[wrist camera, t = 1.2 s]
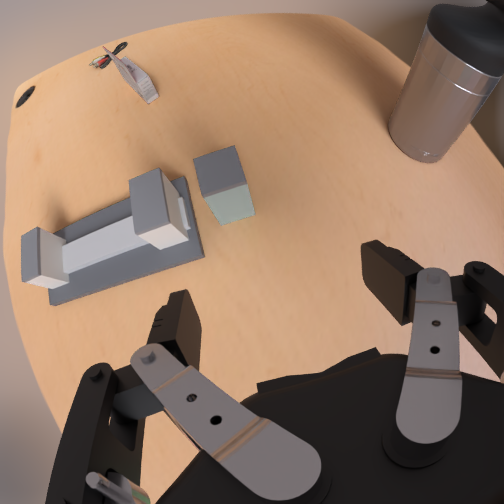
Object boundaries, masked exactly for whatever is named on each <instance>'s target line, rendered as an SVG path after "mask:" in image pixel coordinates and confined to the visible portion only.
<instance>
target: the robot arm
mask: <svg viewBox="0 0 504 504" xmlns="http://www.w3.org/2000/svg"><path fill="white" fill-rule="evenodd" d="M486 1H488V2H487V3H486V4H485V5H483V6H480V7H463V6H456V5H450V4H438V5H436V6H434V7H433V8H432V10H431V12H430V14H429V17H428V21H427V24H426V28H425V30H424V34H423V36H422V39H421V42H420V45H419V48H418V50H417V53H416V56H415V58H414V61H413V64H412V66H411V69H410V71H409V74H408V76H407V79H406V81H405V84H404V86H403V89H402V91H401V94H400V96H399V98H398V101H397V103H396V105H395V107H394V110H393V112H392V114H391V117H390V119H389V123H388V128H389V132H390V135H391V137H392V139H393V141H394V142H395V143H396V145H397V146H398V147H399V148H400V149H401V150H402V151H403V152H404V153H406V154H407V155H408V156H410V157H411V158H413V159H415V160H418V161H420V162H425V163H434V162H437V161H439V160H440V159H441V158H442V157H443V156H444V155H445V153H446V152H447V151H448V150H449V148H450V147H451V146H452V145H453V144H454V142H455V141H456V140H457V139H458V137H459V136H460V135H461V133H462V132H463V131H464V129H465V128H466V127H467V125H468V124H469V123H470V121H471V120H472V119H473V117H474V116H475V115H476V113H477V112H478V110H479V109H480V108H481V106H482V105H483V104H484V102H485V101H486V99H487V98H488V96H489V95H490V93H491V92H492V90H493V89H494V87H495V86H496V84H497V83H498V81H499V80H500V78H501V76H502V75H503V73H504V0H486ZM361 260H362V276H363V280H364V283H365V285H366V286H367V288H368V289H369V290H370V291H371V292H372V293H373V294H374V295H375V296H376V298H377V299H378V300H379V301H380V302H381V303H382V304H383V305H384V306H385V308H386V309H387V310H388V311H389V312H390V313H391V314H392V316H393V317H394V318H395V319H396V320H397V321H398V322H399V324H400V325H401V326H403V325H405V324H408V323H410V322H412V323H413V326H412V333H411V340H410V347H409V353H408V355H404V354H382V355H381V354H380V353H379V352H378V350H377V349H376V347H375V348H372V349H369V350H367V351H364V352H361V353H359V354H356V355H353V356H350V357H348V358H346V359H344V360H343V361H341V362H339V363H337V364H336V365H334V366H332V367H330V368H328V369H327V370H325V371H323V372H320V373H313V374H303V375H290V376H284V377H280V378H276V379H272V380H268V381H264V382H260V383H257V389H258V392H257V393H255V394H253V395H251V396H249V397H248V398H246V399H244V400H243V401H242V402H240V403H238V402H237V401H236V400H234V399H233V398H232V397H230V396H229V395H228V394H226V393H225V392H224V391H223V390H221V389H220V388H219V387H217V386H216V385H215V384H214V383H212V382H211V381H210V380H209V379H207V378H206V377H205V376H204V375H202V374H201V373H200V372H199V363H200V347H201V333H202V328H201V323H200V319H199V316H198V314H197V311H196V309H195V306H194V304H193V301H192V299H191V296H190V294H189V292H188V290H187V289H185V290H181V291H177V292H173V293H170V296H169V300H168V303H167V305H164V306H162V307H161V308H160V309H159V311H158V312H157V313H156V315H155V318H154V322H153V325H152V328H151V331H150V334H149V337H148V341H147V344H146V345H145V346H143V347H141V348H139V349H138V350H137V351H136V352H135V353H134V354H133V355H132V357H131V360H130V363H131V364H130V365H128V366H125V367H123V368H120V369H117V370H115V371H114V370H113V369H112V367H111V366H110V365H109V364H108V363H98V364H95V365H93V366H91V367H90V368H89V369H88V370H86V372H85V373H84V374H83V376H82V379H81V381H80V384H79V387H78V389H77V392H76V395H75V398H74V400H73V403H72V406H71V409H70V412H69V415H68V418H67V421H66V424H65V427H64V430H63V434H62V438H61V440H60V444H59V447H58V451H57V454H56V458H55V462H54V466H53V470H52V474H51V478H50V483H49V487H48V492H47V497H46V502H45V504H150V498H149V496H148V494H147V493H146V492H145V491H144V490H143V489H142V488H140V475H141V460H142V448H143V438H144V428H145V419H146V417H147V416H150V415H152V414H155V413H158V412H160V411H164V412H165V414H166V415H167V416H168V417H169V418H170V419H171V421H172V422H173V423H174V424H175V425H176V426H177V427H178V429H179V430H180V431H181V432H182V433H183V434H184V435H185V436H186V437H187V438H188V440H189V441H190V442H191V443H192V444H193V445H194V446H195V447H196V448H197V449H198V450H199V453H198V454H197V455H196V456H195V458H194V459H193V460H192V461H191V462H190V464H189V465H188V466H187V467H186V468H185V470H184V471H183V472H182V473H181V474H180V476H179V477H178V478H177V479H176V480H175V481H174V483H173V484H172V485H171V486H170V487H169V488H168V489H167V491H166V492H165V493H164V494H163V495H162V496H161V497H160V498H159V500H158V501H157V502H156V504H504V275H502V274H501V273H499V272H498V271H497V270H495V269H494V268H492V267H491V266H490V265H488V264H486V263H484V262H479V261H472V262H469V263H467V264H466V265H465V266H464V273H463V275H458V276H452V277H450V276H449V274H448V273H447V272H446V271H444V270H442V269H439V268H425V269H424V268H423V267H422V266H420V265H419V264H418V263H416V262H415V261H413V260H412V259H410V258H409V257H408V256H407V255H405V254H404V253H402V252H401V251H400V250H398V249H395V248H392V247H387V246H385V245H384V244H383V243H381V242H380V241H378V240H373V241H370V242H366V243H363V244H362V245H361ZM486 304H488V305H489V306H491V307H492V308H493V309H494V310H495V312H496V314H497V323H496V324H495V323H494V322H493V321H492V320H491V319H490V318H489V317H488V316H487V315H486V314H485V313H484V312H485V308H486ZM459 331H460V332H461V333H462V334H463V335H464V337H465V338H466V339H467V340H468V341H469V342H470V343H471V345H472V346H473V347H474V348H475V349H476V350H477V352H478V353H479V354H480V355H481V356H482V358H483V359H484V360H485V361H486V362H487V364H488V365H489V366H490V367H491V368H492V370H493V371H494V372H495V373H496V375H497V376H498V377H499V379H500V382H497V381H493V380H489V379H485V378H482V377H478V376H475V375H471V374H468V373H464V372H461V371H460V370H459V365H460V355H459ZM110 417H111V420H110V424H109V418H110Z"/></svg>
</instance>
